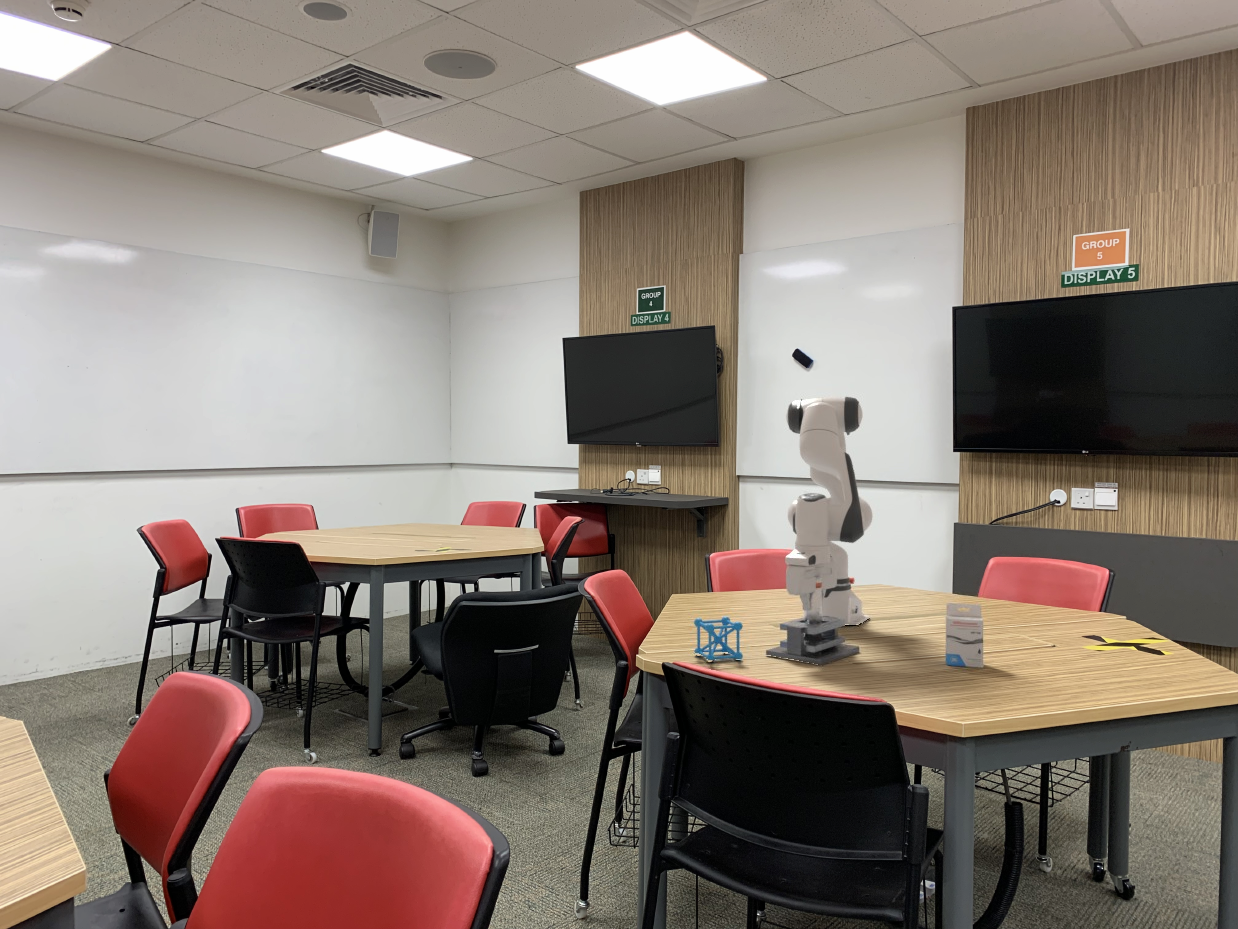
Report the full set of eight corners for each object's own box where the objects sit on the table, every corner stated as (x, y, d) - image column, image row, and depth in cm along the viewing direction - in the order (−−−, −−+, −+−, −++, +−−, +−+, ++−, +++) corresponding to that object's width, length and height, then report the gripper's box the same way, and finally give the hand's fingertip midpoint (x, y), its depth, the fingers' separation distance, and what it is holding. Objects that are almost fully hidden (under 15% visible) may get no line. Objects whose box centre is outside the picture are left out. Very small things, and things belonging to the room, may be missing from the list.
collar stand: (805, 643, 237) (805, 613, 237) (859, 652, 226) (859, 620, 226) (766, 656, 223) (765, 623, 222) (821, 665, 212) (821, 631, 212)
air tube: (809, 640, 228) (809, 573, 228) (825, 643, 225) (825, 574, 225) (800, 643, 224) (800, 574, 224) (816, 646, 221) (816, 576, 221)
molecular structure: (744, 661, 217) (744, 622, 217) (707, 664, 214) (707, 624, 214) (728, 653, 227) (727, 615, 227) (692, 655, 224) (692, 617, 224)
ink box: (946, 665, 211) (945, 605, 211) (945, 661, 216) (945, 602, 216) (983, 668, 208) (983, 607, 208) (982, 663, 213) (982, 604, 213)
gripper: (821, 551, 234) (821, 602, 234) (781, 558, 219) (781, 612, 219) (842, 553, 230) (842, 604, 230) (803, 560, 215) (803, 615, 215)
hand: (812, 608), depth 224 cm, fingers closed on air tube, 4 cm apart
